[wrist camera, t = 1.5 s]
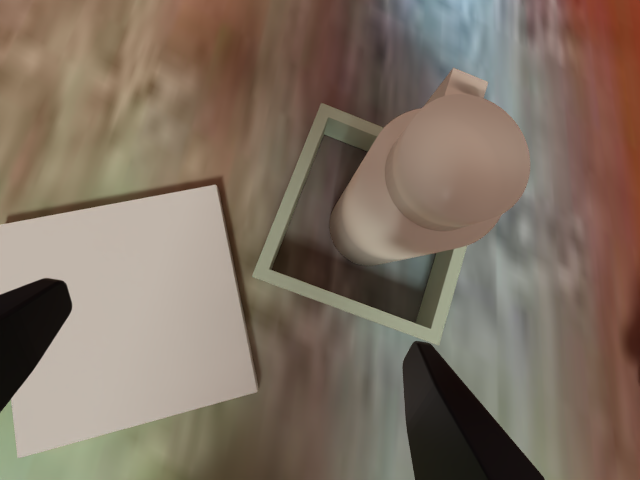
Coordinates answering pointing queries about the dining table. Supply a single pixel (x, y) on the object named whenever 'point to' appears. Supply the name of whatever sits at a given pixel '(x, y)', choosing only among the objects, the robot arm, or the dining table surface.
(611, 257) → the dining table surface
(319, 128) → the holder
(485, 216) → the pink plastic bottle
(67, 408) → the plate
